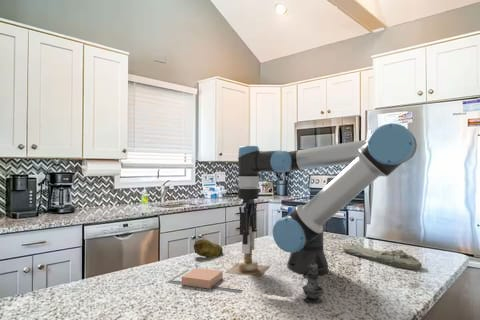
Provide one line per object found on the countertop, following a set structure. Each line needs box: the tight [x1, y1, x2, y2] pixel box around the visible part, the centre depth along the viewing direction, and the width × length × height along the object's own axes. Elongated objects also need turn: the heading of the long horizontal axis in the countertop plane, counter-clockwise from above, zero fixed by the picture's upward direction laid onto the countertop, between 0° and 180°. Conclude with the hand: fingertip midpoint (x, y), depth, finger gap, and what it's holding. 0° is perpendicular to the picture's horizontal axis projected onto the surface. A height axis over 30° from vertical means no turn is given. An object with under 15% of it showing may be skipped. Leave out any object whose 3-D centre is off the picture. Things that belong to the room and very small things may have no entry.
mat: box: [166, 269, 244, 294], centre depth 113 cm, size 26×14×1 cm, turn 70°
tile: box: [181, 267, 223, 290], centre depth 112 cm, size 10×3×10 cm
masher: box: [238, 226, 259, 272], centre depth 125 cm, size 7×7×16 cm
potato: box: [193, 238, 224, 259], centre depth 144 cm, size 8×13×8 cm, turn 105°
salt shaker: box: [302, 259, 324, 305], centre depth 99 cm, size 6×6×12 cm
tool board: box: [225, 262, 271, 278], centre depth 125 cm, size 13×13×1 cm
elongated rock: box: [342, 244, 423, 270], centre depth 142 cm, size 35×5×10 cm
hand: (248, 251), depth 125 cm, fingers open, 5 cm apart
